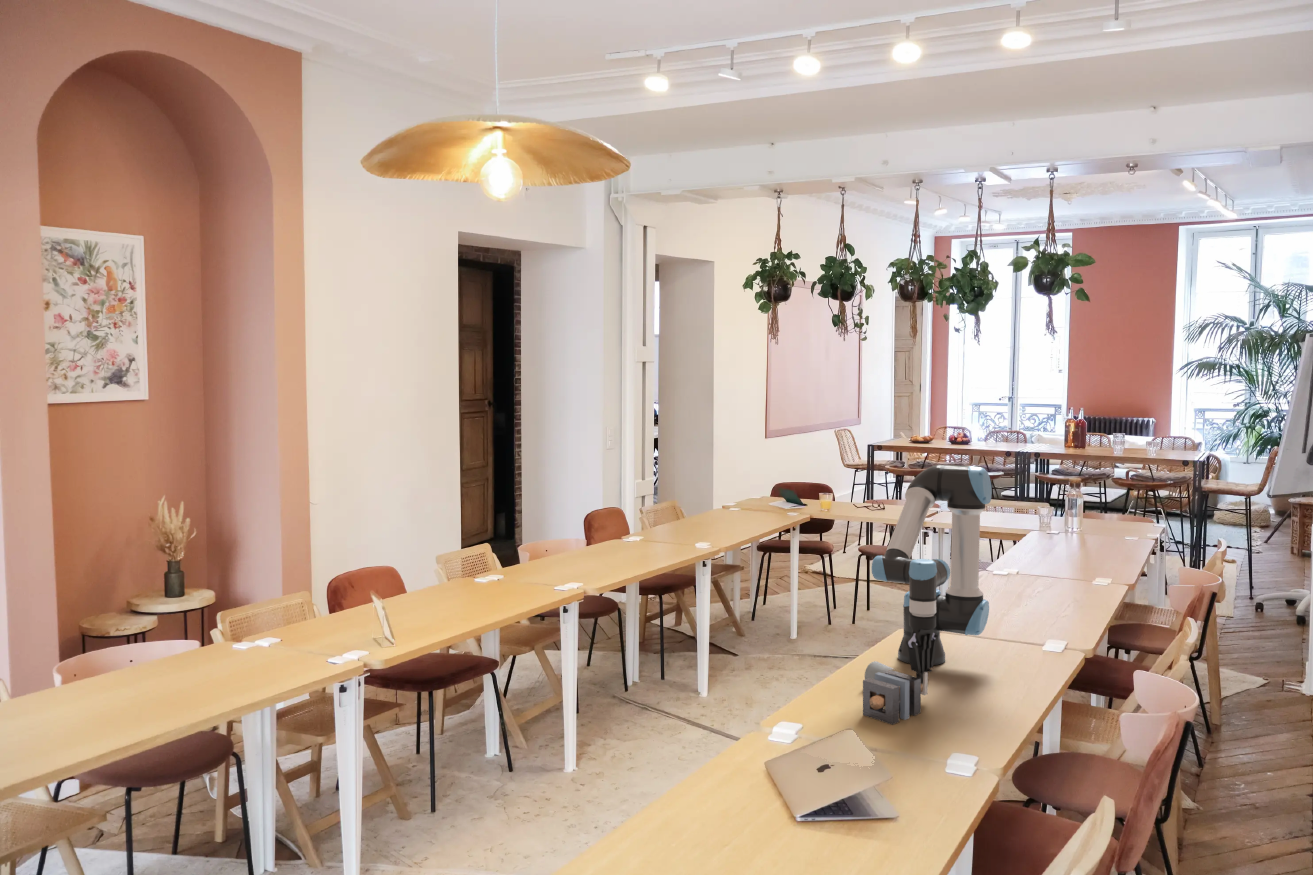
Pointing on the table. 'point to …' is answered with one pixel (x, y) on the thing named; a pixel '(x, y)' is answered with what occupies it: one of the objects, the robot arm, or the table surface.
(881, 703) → the air tube
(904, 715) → the aperture arch
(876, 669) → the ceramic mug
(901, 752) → the table surface
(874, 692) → the collar
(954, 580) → the robot arm
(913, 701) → the square frame
